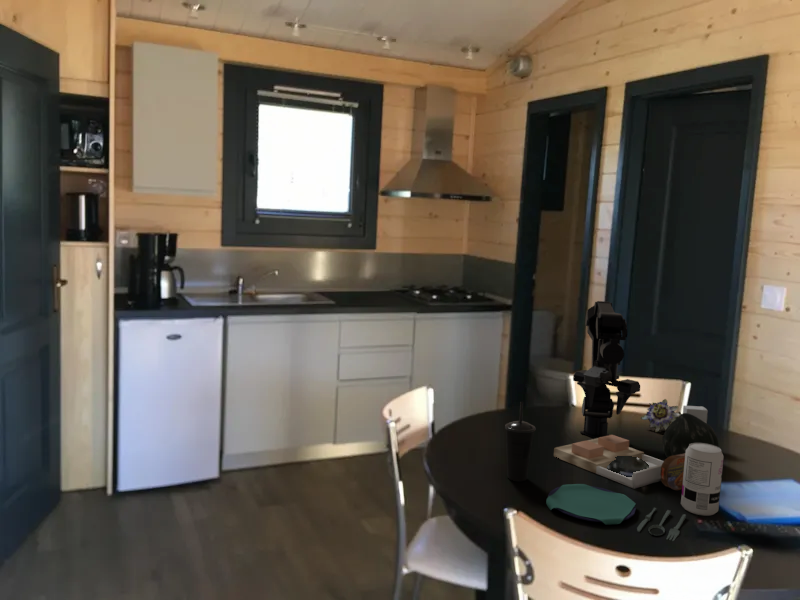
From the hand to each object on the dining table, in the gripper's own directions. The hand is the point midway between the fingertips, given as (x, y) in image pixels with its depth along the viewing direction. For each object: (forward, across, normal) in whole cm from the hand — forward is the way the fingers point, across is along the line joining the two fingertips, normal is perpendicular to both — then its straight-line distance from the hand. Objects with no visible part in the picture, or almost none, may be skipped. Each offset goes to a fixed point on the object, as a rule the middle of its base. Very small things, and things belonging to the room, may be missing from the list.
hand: (603, 410), depth 206 cm
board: (+12, +3, -6) cm, 14 cm away
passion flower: (+12, 0, +36) cm, 38 cm away
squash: (+12, +20, +13) cm, 27 cm away
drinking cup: (+12, -1, -37) cm, 39 cm away
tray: (+12, +17, -8) cm, 22 cm away
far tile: (+10, +4, -1) cm, 11 cm away
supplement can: (+12, +38, -17) cm, 43 cm away
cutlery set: (+13, +26, -36) cm, 47 cm away
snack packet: (+12, +28, -6) cm, 31 cm away
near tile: (+10, +3, -12) cm, 16 cm away
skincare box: (+12, +14, +28) cm, 33 cm away
